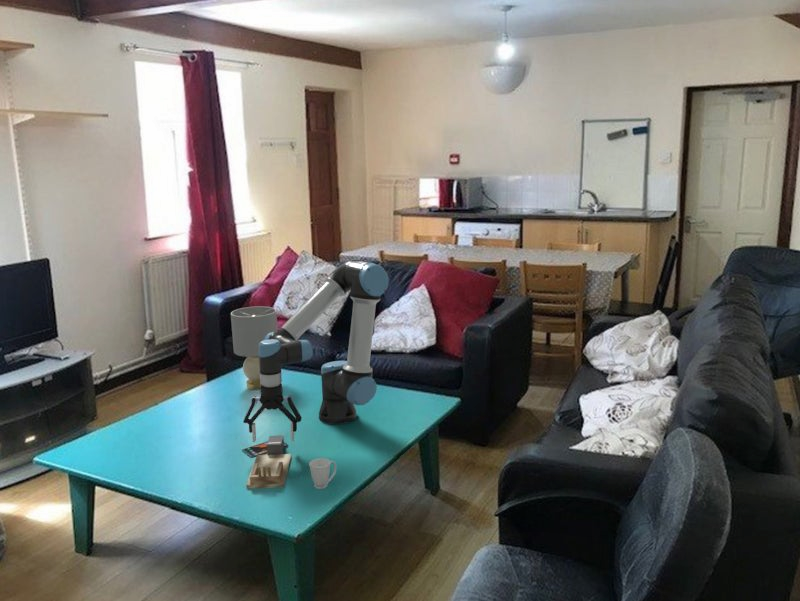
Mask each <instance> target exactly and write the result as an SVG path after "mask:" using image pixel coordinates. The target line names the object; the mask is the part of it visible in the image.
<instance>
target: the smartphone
mask: <svg viewBox="0 0 800 601" xmlns="http://www.w3.org/2000/svg"><path fill="white" fill-rule="evenodd" d="M267 443H268V440H267V441H264V442H261V443H259V444H255V445H252V446H249V447H246V448H243V449H242V450H241V452H242V453H244V454H246V456H248V457H249V458H251V459H252V458H256V456H257V455H267ZM287 447H289V444H288V443H286V442H285V441H284V449H285V448H287Z"/></svg>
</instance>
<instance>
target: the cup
mask: <svg viewBox="0 0 800 601" xmlns="http://www.w3.org/2000/svg"><path fill="white" fill-rule="evenodd" d="M331 464H333V466H334V468H333V472H332V474H331V476H330V472H331V470H330V469H331ZM308 466H309V470H310V475H311V479H312V481H313V483H314V484H313V486H314V488H315V489H320V490H321V489H325V488H327V487H328V484H329V483H330V482H331V480H333V478H334V477H335V475H336V473H337V464H336V462H335V461H334V460H329V458H328V459H327V458H324V457H323V458H322V457H318V458H313V459H312V460H311V461H309V462H308Z"/></svg>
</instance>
